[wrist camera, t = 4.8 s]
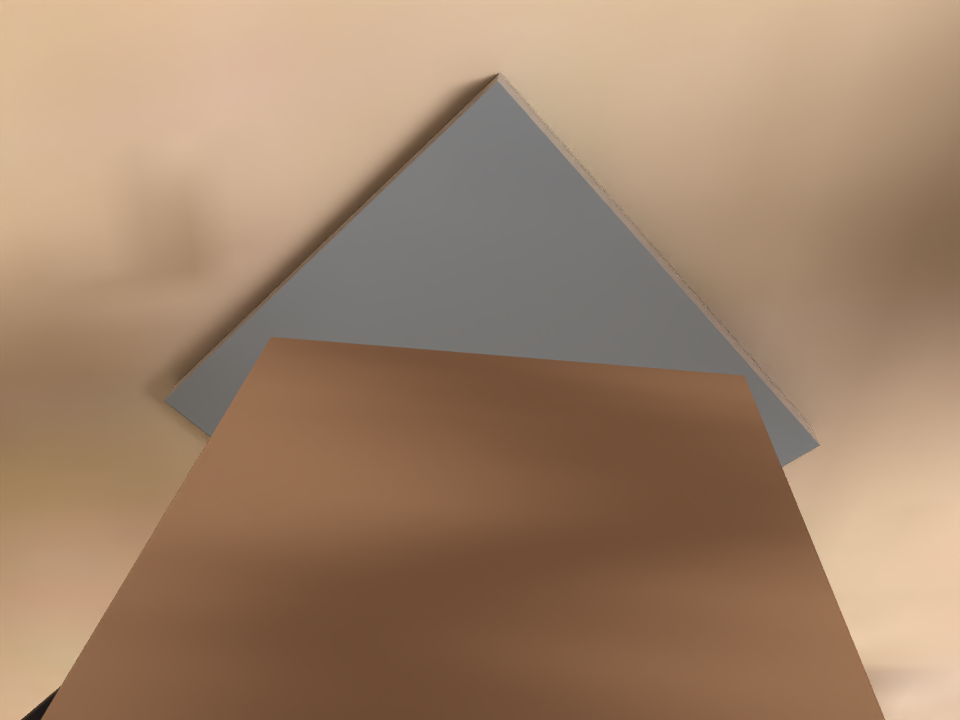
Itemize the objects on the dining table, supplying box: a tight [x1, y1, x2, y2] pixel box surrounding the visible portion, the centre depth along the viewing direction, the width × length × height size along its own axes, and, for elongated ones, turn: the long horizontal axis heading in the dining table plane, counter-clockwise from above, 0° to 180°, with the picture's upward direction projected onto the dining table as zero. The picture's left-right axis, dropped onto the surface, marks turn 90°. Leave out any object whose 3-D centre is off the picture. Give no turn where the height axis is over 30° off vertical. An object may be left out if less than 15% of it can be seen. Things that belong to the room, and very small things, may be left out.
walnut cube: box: [41, 337, 885, 720], centre depth 7 cm, size 5×5×5 cm
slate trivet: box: [164, 73, 820, 467], centre depth 21 cm, size 12×12×1 cm
